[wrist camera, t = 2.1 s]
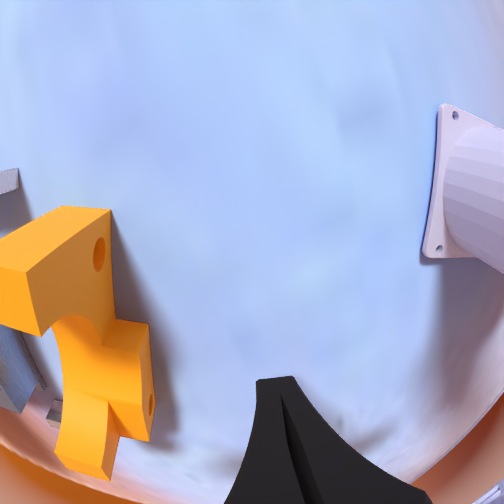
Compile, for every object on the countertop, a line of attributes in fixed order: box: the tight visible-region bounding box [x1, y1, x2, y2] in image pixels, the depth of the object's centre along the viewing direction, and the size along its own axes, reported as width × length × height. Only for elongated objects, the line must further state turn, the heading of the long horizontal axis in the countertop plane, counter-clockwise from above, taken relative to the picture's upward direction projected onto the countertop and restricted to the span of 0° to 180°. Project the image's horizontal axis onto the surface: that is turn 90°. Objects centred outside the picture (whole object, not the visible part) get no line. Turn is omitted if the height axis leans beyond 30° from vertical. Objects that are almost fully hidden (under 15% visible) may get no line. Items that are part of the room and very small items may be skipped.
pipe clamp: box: [0, 206, 156, 481], centre depth 10 cm, size 12×4×6 cm, turn 172°
